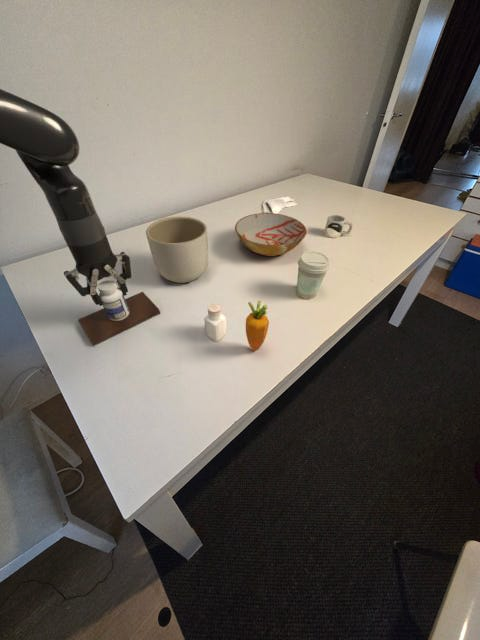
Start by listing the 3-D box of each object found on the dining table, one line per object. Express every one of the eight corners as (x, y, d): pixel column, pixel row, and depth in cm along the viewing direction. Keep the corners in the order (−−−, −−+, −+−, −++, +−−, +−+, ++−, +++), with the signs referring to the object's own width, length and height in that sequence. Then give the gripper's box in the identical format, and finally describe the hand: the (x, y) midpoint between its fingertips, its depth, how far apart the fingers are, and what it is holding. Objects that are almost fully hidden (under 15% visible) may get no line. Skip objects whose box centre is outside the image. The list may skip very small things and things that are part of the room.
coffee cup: (287, 295, 78) (293, 260, 70) (299, 281, 83) (306, 247, 75) (313, 306, 75) (324, 271, 66) (324, 291, 80) (335, 256, 71)
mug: (323, 237, 104) (327, 220, 99) (323, 229, 109) (327, 213, 104) (349, 240, 103) (355, 224, 98) (348, 232, 107) (354, 216, 103)
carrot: (240, 348, 63) (241, 302, 53) (255, 339, 65) (260, 292, 55) (253, 362, 61) (257, 315, 50) (269, 352, 63) (276, 305, 52)
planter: (155, 291, 78) (142, 245, 67) (158, 261, 90) (148, 217, 79) (211, 287, 80) (208, 242, 69) (208, 257, 92) (205, 215, 81)
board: (93, 346, 63) (91, 342, 62) (79, 323, 68) (77, 319, 67) (160, 313, 72) (159, 309, 70) (143, 295, 77) (142, 291, 76)
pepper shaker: (216, 326, 68) (214, 298, 62) (227, 334, 67) (226, 306, 60) (205, 335, 66) (201, 307, 59) (216, 343, 64) (214, 315, 58)
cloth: (281, 195, 136) (281, 190, 134) (302, 202, 129) (303, 198, 127) (246, 209, 122) (246, 204, 121) (268, 218, 116) (269, 213, 114)
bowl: (253, 273, 85) (254, 252, 80) (224, 239, 102) (224, 219, 96) (316, 258, 93) (321, 237, 87) (280, 228, 109) (282, 208, 103)
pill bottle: (114, 306, 71) (101, 277, 64) (133, 308, 70) (122, 279, 64) (104, 320, 67) (89, 290, 60) (124, 322, 67) (111, 293, 60)
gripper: (112, 219, 58) (133, 281, 70) (41, 238, 52) (77, 303, 64) (127, 231, 54) (146, 294, 66) (51, 254, 48) (87, 320, 60)
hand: (112, 298), depth 65 cm, fingers closed on pill bottle, 5 cm apart
